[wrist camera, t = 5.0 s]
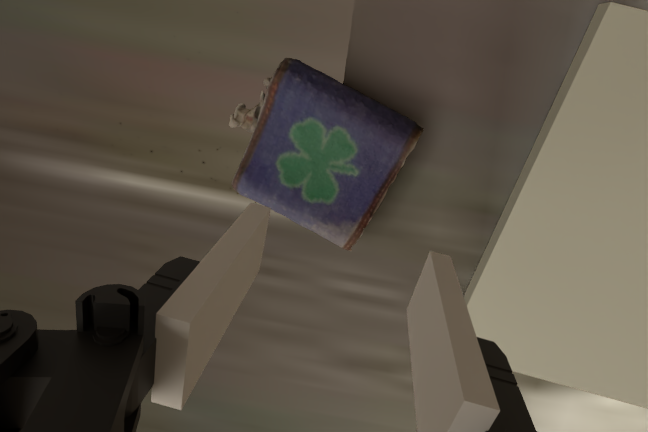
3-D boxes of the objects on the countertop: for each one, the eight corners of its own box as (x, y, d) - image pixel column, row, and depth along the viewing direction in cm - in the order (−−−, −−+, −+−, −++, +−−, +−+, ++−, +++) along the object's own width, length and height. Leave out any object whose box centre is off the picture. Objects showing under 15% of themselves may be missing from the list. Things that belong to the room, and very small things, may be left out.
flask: (348, 258, 25) (200, 179, 25) (353, 239, 28) (220, 168, 28) (425, 130, 21) (253, 36, 21) (423, 122, 24) (270, 39, 24)
